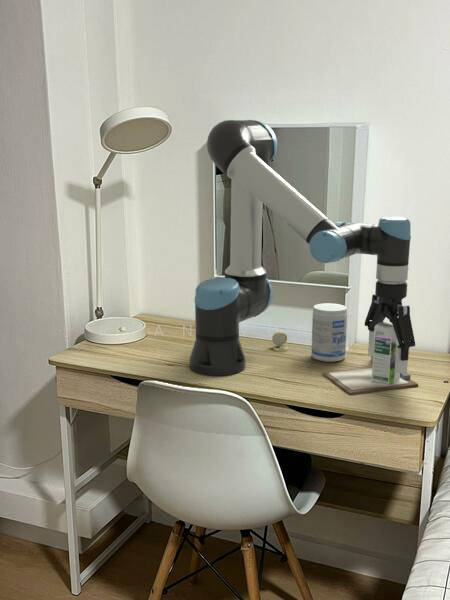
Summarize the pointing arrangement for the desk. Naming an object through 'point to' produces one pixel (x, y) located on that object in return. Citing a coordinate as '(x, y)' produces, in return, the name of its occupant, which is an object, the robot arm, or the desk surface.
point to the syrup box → (385, 354)
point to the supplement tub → (329, 332)
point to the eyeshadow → (279, 342)
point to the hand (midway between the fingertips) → (386, 363)
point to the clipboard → (365, 381)
